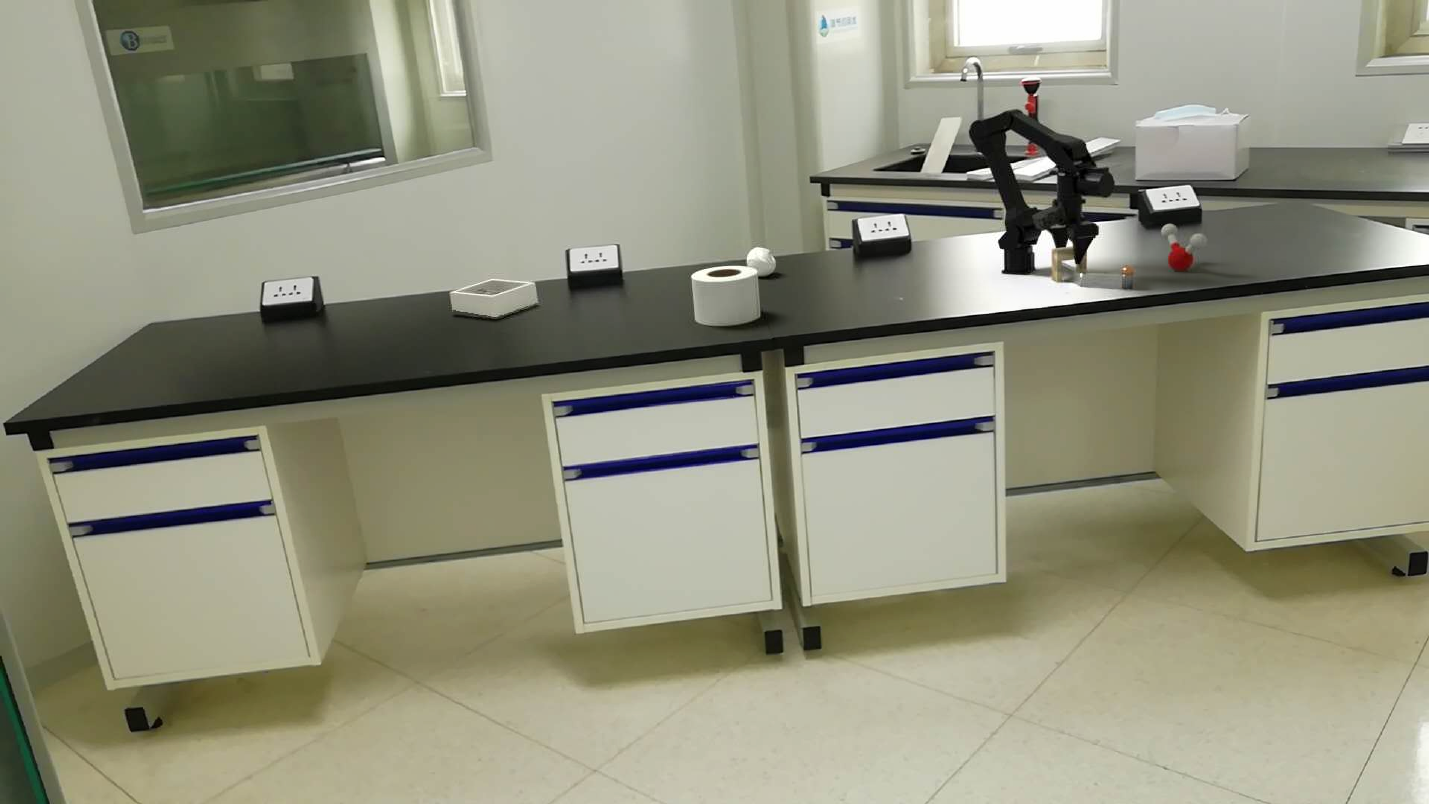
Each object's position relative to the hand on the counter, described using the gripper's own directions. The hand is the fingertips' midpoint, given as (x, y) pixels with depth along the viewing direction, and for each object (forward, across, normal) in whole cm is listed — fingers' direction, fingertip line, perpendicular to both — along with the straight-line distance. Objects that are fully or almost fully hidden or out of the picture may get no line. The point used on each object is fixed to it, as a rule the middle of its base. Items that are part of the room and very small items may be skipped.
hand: (1069, 260), depth 276 cm
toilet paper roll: (+5, -5, -82) cm, 82 cm away
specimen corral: (+5, -42, -137) cm, 143 cm away
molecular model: (+5, +5, +26) cm, 26 cm away
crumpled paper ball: (+5, -43, -66) cm, 79 cm away
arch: (+4, 0, 0) cm, 5 cm away
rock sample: (+5, -41, -138) cm, 144 cm away
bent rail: (+5, +5, +4) cm, 8 cm away
